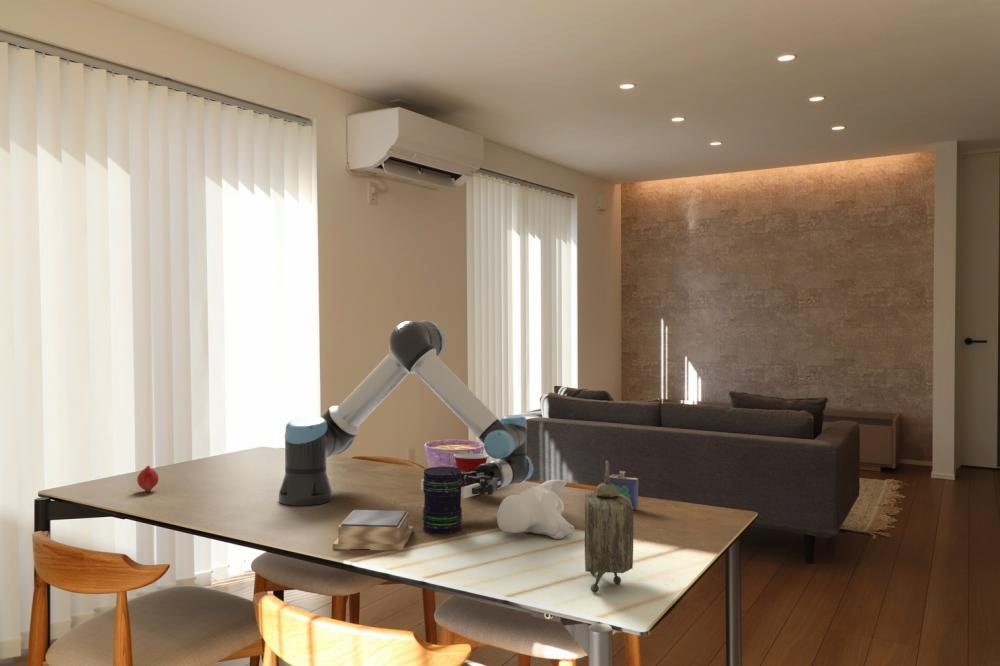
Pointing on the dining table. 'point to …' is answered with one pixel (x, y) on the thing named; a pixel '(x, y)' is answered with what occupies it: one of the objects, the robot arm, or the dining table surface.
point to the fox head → (536, 511)
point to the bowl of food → (450, 451)
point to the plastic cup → (469, 461)
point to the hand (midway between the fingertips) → (441, 489)
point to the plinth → (374, 530)
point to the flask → (626, 487)
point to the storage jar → (442, 500)
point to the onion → (147, 478)
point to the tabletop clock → (608, 531)
